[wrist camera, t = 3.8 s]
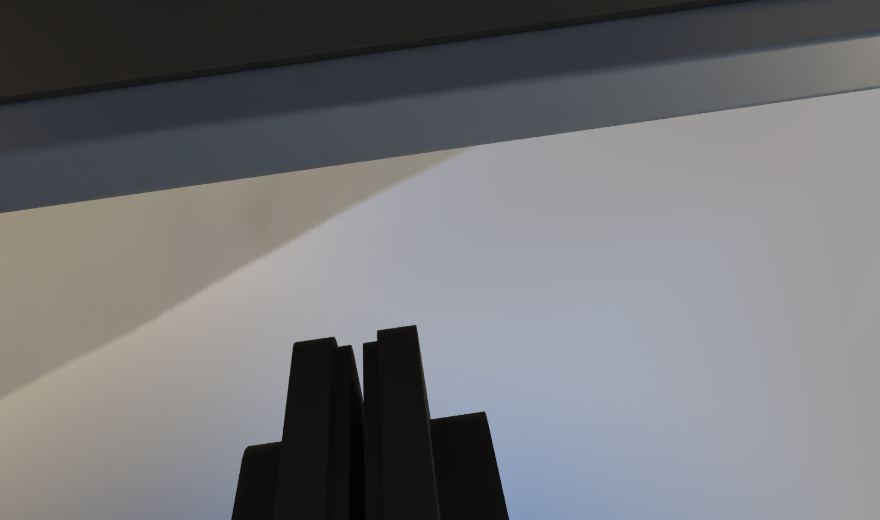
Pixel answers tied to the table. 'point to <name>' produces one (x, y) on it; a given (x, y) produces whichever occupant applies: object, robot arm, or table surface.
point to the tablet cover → (379, 79)
